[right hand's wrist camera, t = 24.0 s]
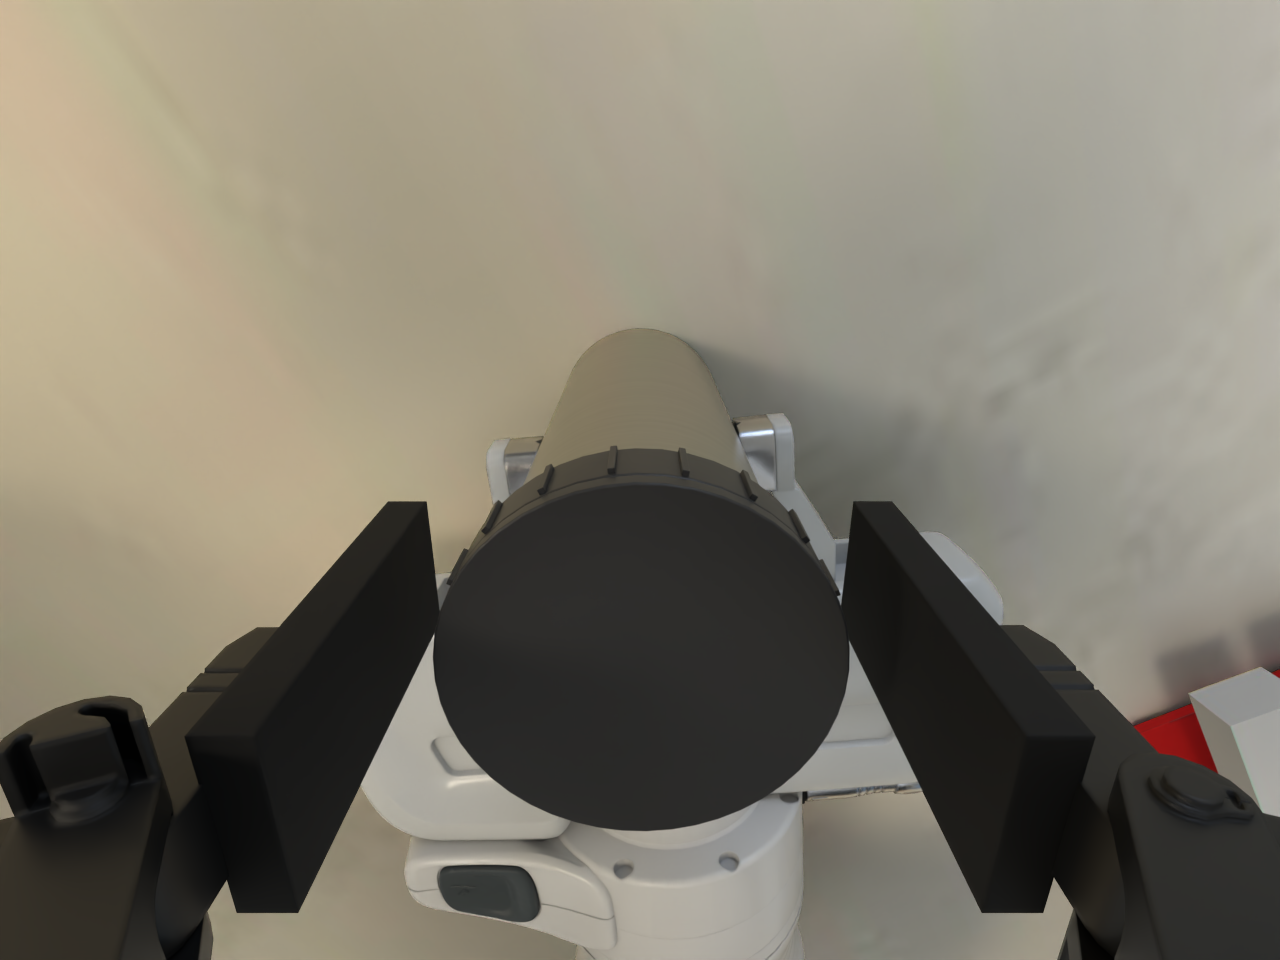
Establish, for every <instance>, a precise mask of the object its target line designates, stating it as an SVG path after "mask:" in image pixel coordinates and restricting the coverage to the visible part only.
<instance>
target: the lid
mask: <svg viewBox="0 0 1280 960" xmlns="http://www.w3.org/2000/svg"><path fill="white" fill-rule="evenodd" d="M809 541H810V539H809V537H808V535H807V533H806V531H805V529H804V527H803V525H802V523H801V521H800V519H799V517H798V515H797V513H796V512H795V511H794V510H793V509H791V510H790V511H789V512H788V510H787V509H786V508H785V507H784V506H783V505H782V504H781V503H780V502H779V501H778V500H777V499H776V498H775V497H774V496H772V495H771V494H770V493H769V492H767V491H766V490H765V489H764V488H762V487H761V486H760V485H759V484H757V483H756V482H754V481H752V480H751V478H750V476H749V473H748V472H747V471H745V470H742V471H741V473H739V472H738V471H736V470H733V469H731V468H729V467H727V466H724V465H722V464H720V463H717V462H715V461H713V460H709V459H706V458H702V457H699V456H696V455H692V454H689V453H686V449H685V448H680V447H679V450H678V452H677V451H671V450H664V449H644V448H632V449H621V450H618V449H617V446H610V451H605V452H600V453H596V454H591V455H586V456H582V457H580V458H577V459H574V460H571V461H568V462H565V463H563V464H560V465H558V466H556V467H553V465H552V464H549V465H547V466H546V467H545V470H544V472H543V473H542V474H540V475H538V476H536V477H535V478H533V479H532V480H530V481H529V482H527V483H526V484H524V485H523V486H522V487H520V488H519V489H517V490H516V491H515V492H514V493H512V494H511V495H510V496H509V497H508V498H507V499H506V500H505V501H504V502H503V503H502V502H500V501H499V500H498V501H497V502H496V503H495V504H494V506H493V508H492V510H491V512H490V514H489V516H488V518H487V520H486V522H485V523H484V524H483V526H482V528H481V529H480V531H479V533H478V534H477V536H476V538H475V539H474V541H473V543H472V544H471V546H470V548H469V550H467V549H463V551H462V553H461V555H460V557H459V559H458V561H457V563H456V565H455V567H454V569H453V570H452V572H451V574H450V576H449V578H448V580H447V583H446V584H447V585H450V588H449V590H448V592H447V595H446V597H445V600H444V602H443V605H442V607H441V609H440V612H439V617H438V621H437V625H436V629H435V634H434V647H433V666H434V678H435V683H436V688H437V692H438V696H439V700H440V704H441V706H442V708H443V711H444V713H445V716H446V718H447V721H448V723H449V725H450V727H451V729H452V730H453V732H454V734H455V735H456V737H457V739H458V740H459V742H460V744H461V745H462V746H463V748H464V749H465V750H466V751H467V753H468V754H469V755H470V757H471V758H472V759H473V760H474V762H475V763H476V764H477V765H478V766H479V767H480V768H481V769H482V770H483V771H485V772H486V773H487V774H488V775H489V776H490V777H491V778H492V779H493V780H494V781H496V782H497V783H498V784H500V785H501V786H502V787H503V788H505V789H506V790H507V791H509V792H510V793H512V794H513V795H515V796H517V797H518V798H520V799H522V800H523V801H525V802H527V803H528V804H530V805H532V806H534V807H537V808H539V809H541V810H543V811H545V812H547V813H550V814H552V815H555V816H558V817H561V818H564V819H566V820H569V821H572V822H576V823H580V824H584V825H589V826H593V827H598V828H605V829H613V830H621V831H658V830H672V829H678V828H683V827H689V826H695V825H699V824H702V823H706V822H709V821H713V820H717V819H720V818H722V817H725V816H727V815H730V814H733V813H735V812H738V811H740V810H742V809H744V808H746V807H748V806H750V805H752V804H754V803H756V802H758V801H760V800H761V799H763V798H765V797H766V796H768V795H769V794H771V793H772V792H773V791H775V790H776V789H778V788H779V787H781V786H782V785H783V784H785V783H786V782H787V781H788V780H789V779H790V778H792V777H793V776H794V775H795V774H796V773H797V772H799V771H800V770H801V768H802V767H803V766H804V765H805V764H806V763H807V762H808V761H809V760H810V758H811V757H812V756H813V755H814V754H815V753H816V751H817V750H818V748H819V747H820V746H821V744H822V743H823V741H824V740H825V738H826V737H827V735H828V734H829V732H830V730H831V728H832V726H833V724H834V722H835V720H836V718H837V716H838V713H839V710H840V707H841V704H842V701H843V698H844V695H845V692H846V686H847V680H848V675H849V661H850V645H849V638H848V631H847V624H846V621H845V618H844V614H843V611H842V608H841V605H840V601H839V599H838V597H837V596H840V595H841V594H840V591H839V589H838V587H837V585H836V583H835V581H834V579H833V578H832V576H831V574H830V572H829V570H828V568H827V566H826V564H825V562H824V560H823V559H821V560H819V559H818V557H817V555H816V554H815V552H814V550H813V548H812V546H811V544H810V542H809Z"/></svg>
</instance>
